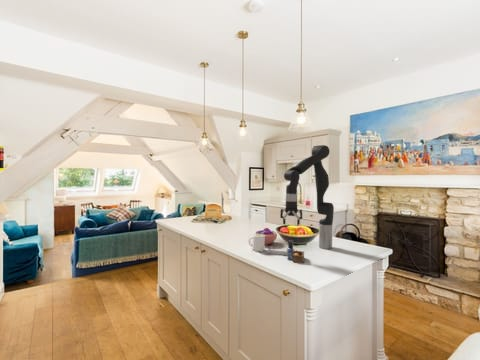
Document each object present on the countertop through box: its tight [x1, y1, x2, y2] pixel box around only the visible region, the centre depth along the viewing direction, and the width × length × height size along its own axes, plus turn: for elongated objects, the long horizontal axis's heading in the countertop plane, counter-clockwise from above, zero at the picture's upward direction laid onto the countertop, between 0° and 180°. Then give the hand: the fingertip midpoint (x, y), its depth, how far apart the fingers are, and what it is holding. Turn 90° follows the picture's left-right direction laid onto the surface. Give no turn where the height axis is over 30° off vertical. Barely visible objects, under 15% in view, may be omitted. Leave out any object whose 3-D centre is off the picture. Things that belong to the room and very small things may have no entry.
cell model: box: [255, 227, 278, 245], centre depth 199 cm, size 17×20×11 cm
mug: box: [248, 233, 266, 252], centre depth 181 cm, size 12×8×10 cm
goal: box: [292, 250, 305, 264], centre depth 160 cm, size 10×6×4 cm, turn 165°
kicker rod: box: [286, 239, 296, 260], centre depth 166 cm, size 12×5×9 cm, turn 165°
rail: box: [267, 247, 298, 257], centre depth 171 cm, size 3×19×3 cm, turn 75°
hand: (291, 224), depth 169 cm, fingers open, 8 cm apart
